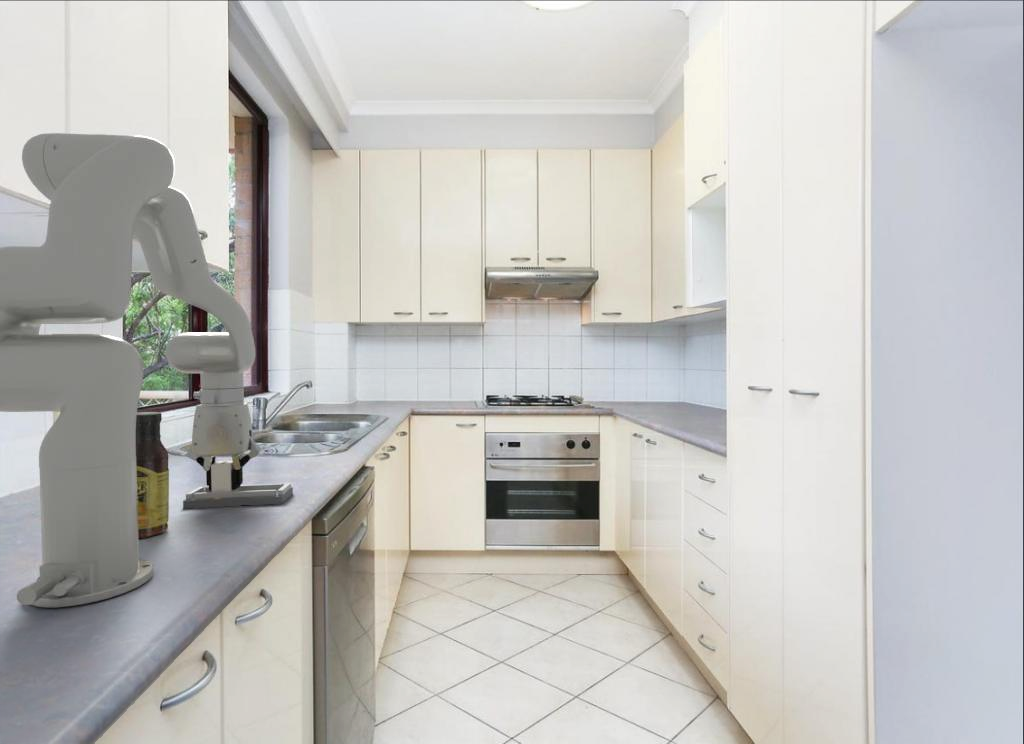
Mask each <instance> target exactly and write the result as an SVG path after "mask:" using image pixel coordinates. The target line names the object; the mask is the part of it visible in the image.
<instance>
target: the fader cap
mask: <svg viewBox="0 0 1024 744" xmlns="http://www.w3.org/2000/svg"><path fill="white" fill-rule="evenodd" d="M232 470H233V460H218V461H216V463H214V464H212V465H211V484H212V492H230V491H237V489H236V490H232V485H231V471H232Z"/></svg>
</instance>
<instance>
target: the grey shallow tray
mask: <svg viewBox="0 0 1024 744" xmlns="http://www.w3.org/2000/svg"><path fill="white" fill-rule="evenodd" d="M292 495H294V487H293V486H292V483H291V482H289V483H288V482H287V483H285V484H284V483H266V484H265V483H264V484H262V483H261V484H241V486H240V487H239V488H238V489H237V491H230V492H212V491H209V486H198V487H196V488H194V489H193V490H191V491H189V492H187V493H185V499H184V500H183V501H182V508H184V509H201V508H205V507H206V508H221V507H222V508H224V506H229V507H242V506H241V505H252V506H265V505H264V504H274V505H283V504H284V503H285V502H286V501H287V500H289V498H290V497H291V496H292ZM284 501H285V502H284ZM283 502H284V503H283ZM282 503H283V504H282Z"/></svg>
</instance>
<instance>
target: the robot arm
mask: <svg viewBox="0 0 1024 744" xmlns="http://www.w3.org/2000/svg"><path fill="white" fill-rule="evenodd" d="M21 160H22V166H23V169H24V171H25V174H26V175H27V177H28V179H29V180H30V182H31V184H32V185H33V186H34V187H35V188H36V189H37V190H38V192H40V193H41V194H42V195H43V196H44V197H45V198H46V199H47V200H48V201H50V204H49V209H48V221H47V231H46V236H45V237H46V238H45V241H44V243H43V244H42V245H41V246H26V245H25V246H22V245H21V246H20V245H19V246H18V245H17V246H14V245H13V246H2V247H0V412H3V413H5V412H6V413H27V412H28V413H30V412H31V413H32V412H33V413H34V412H35V413H36V412H37V413H38V412H41V413H42V412H43V413H45V412H53V413H54V412H55V413H59V415H58V416H57V418H56V420H55V421H54V422H53V424H52V425H51V427H50V428H49V429H48V431H47V432H46V433H45V436H44V437H43V440H42V441H41V445H40V447H39V452H38V468H39V493H40V494H39V495H40V521H41V522H40V524H41V525H40V527H41V554H42V555H41V556H42V565H39V576H38V577H37V578H36V580H35V581H33V582H32V583H30V584H27V585H26V586H25V587H23V588H21V589H20V590H18V591H17V594H16V600H17V602H18V603H19V604H21V605H23V606H25V605H26V606H29V605H30V606H34V607H38V608H47V609H49V608H53V609H54V608H65V607H66V608H67V607H73V606H81V605H86V604H87V605H88V604H91V603H96V602H99V601H103V600H107V599H111V598H113V597H116V596H119V595H122V594H125V593H128V592H130V591H132V590H135V589H137V588H139V587H141V586H142V585H144V584H145V583H147V582H148V581H149V580H151V578H152V577H153V576H154V564H153V563H152V562H151V561H149V560H147V559H143V558H140V552H139V551H140V548H139V546H140V545H139V538H138V505H137V469H136V416H137V413H138V406H139V399H140V395H141V389H142V385H143V378H144V361H143V359H142V356H141V353H140V352H139V351H138V349H137V348H136V347H135V346H134V345H133V344H131V343H130V342H129V341H127V340H124V339H122V338H119V337H116V336H111V335H106V334H100V333H98V334H97V333H52V334H39V333H40V329H41V326H42V325H87V324H90V325H91V324H105V323H107V324H108V323H111V322H112V323H113V322H115V321H118V320H120V319H122V318H123V317H124V316H125V315H126V314H127V312H128V311H129V310H128V309H129V307H130V303H131V302H130V301H131V294H132V272H133V271H132V270H133V269H132V268H133V243H134V242H133V241H134V240H137V241H138V242H139V244H140V246H141V249H142V252H143V256H144V258H145V261H146V265H147V268H148V270H149V274H150V278H151V280H152V284H153V285H154V287H155V288H156V289H157V290H158V291H159V292H161V293H162V294H164V295H167V296H169V297H172V298H173V299H176V300H179V301H181V302H183V303H186V304H189V305H191V306H194V307H196V308H199V309H201V310H203V311H205V312H207V313H209V314H210V315H211V316H213V317H215V319H217V320H218V321H219V322H220V323H221V324H222V326H224V328H225V330H226V331H227V332H225V331H222V332H219V331H218V332H217V331H213V332H211V331H209V332H208V331H206V332H184V333H180V334H176V335H175V336H173V337H172V338H170V340H169V341H168V342H167V345H166V347H165V358H166V361H167V363H168V364H169V365H170V367H171V368H173V369H174V370H176V371H177V372H180V373H184V374H199V375H200V389H199V391H194V392H193V399H194V400H195V399H197V400H199V402H200V404H197V405H195V410H194V417H193V423H192V435H191V436H192V437H191V446H190V448H189V450H188V451H187V452H186V457H187V458H189V459H191V460H193V461H195V462H196V463H198V465H199V466H201V467H202V469H203V470H204V471H205V473H206V474H205V478H206V487H208V486H209V491H212V484H211V465H212V464H214V463H216V462H217V457H218V456H219V457H220V456H231V458H232V459H231V461H233V470H232V471H231V485H232V490H236V489H238V488H239V487H240V486H241V485H243V483H244V482H243V481H244V480H243V479H244V478H243V476H244V475H243V470H244V469H243V467H245V466H246V465H247V463H249V462H250V461H251V460H252V459H253V458H255V457H256V456H258V455H260V454H261V452H262V450H261V449H260V448H259V446H258V445H257V443H256V442H255V440H254V435H253V427H252V426H253V425H252V424H253V423H252V417H251V413H250V410H249V405H248V403H247V402H245V396H244V394H245V391H244V389H245V388H244V384H245V383H244V372H247V371H248V370H250V369H251V368H252V366H253V365H254V363H255V360H256V346H255V340H254V336H253V335H254V334H253V332H252V328H251V323H250V319H249V316H248V315H247V313H246V311H245V309H244V308H243V306H242V304H240V303H239V301H238V300H237V299H236V298H235V297H234V296H233V294H231V293H230V292H229V291H228V290H227V289H226V288H225V287H224V286H223V285H221V284H219V283H218V281H216V280H215V279H214V278H212V276H211V274H210V271H209V266H208V262H207V259H206V256H205V252H204V248H203V243H202V240H201V236H200V231H199V229H198V225H197V221H196V218H195V214H194V210H193V205H192V204H191V201H190V199H189V198H188V196H187V195H186V194H185V193H184V192H183V191H181V190H179V189H177V188H174V187H171V185H172V182H173V179H174V177H175V172H176V169H175V166H176V164H175V158H174V155H173V153H172V152H171V150H170V149H169V147H167V146H166V145H165V144H164V143H163V142H161V141H159V140H157V139H155V138H152V137H149V136H145V135H144V136H143V135H125V134H104V133H103V134H102V133H101V134H97V133H96V134H92V133H91V134H88V133H87V134H85V133H79V134H78V133H64V132H62V133H59V132H58V133H56V132H54V133H53V132H52V133H51V132H50V133H40V134H37V135H34V136H32V137H30V138H29V139H28V140H27V141H26V142H25V144H24V146H23V147H22V153H21ZM248 451H249V453H247V454H245V455H244V453H246V452H248Z"/></svg>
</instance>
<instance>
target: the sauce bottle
mask: <svg viewBox="0 0 1024 744" xmlns="http://www.w3.org/2000/svg"><path fill="white" fill-rule="evenodd" d="M162 420H163V419H162V412H159V411H140V412H139V411H138V412H137V416H136V469H137V505H138V539H145V538H149V537H154V536H157V535H160V534H163V533H165V532H166V531H167V530H168V527H169V524H168V522H169V517H170V516H169V514H170V513H169V511H170V509H169V505H170V503H169V502H170V501H169V498H170V495H169V493H170V492H169V491H170V481H169V480H170V469H169V452H168V449H167V448H166V447H165V446H164V444H163V443H162V441H161V440H162V439H161V436H162V435H161V422H162Z"/></svg>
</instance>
